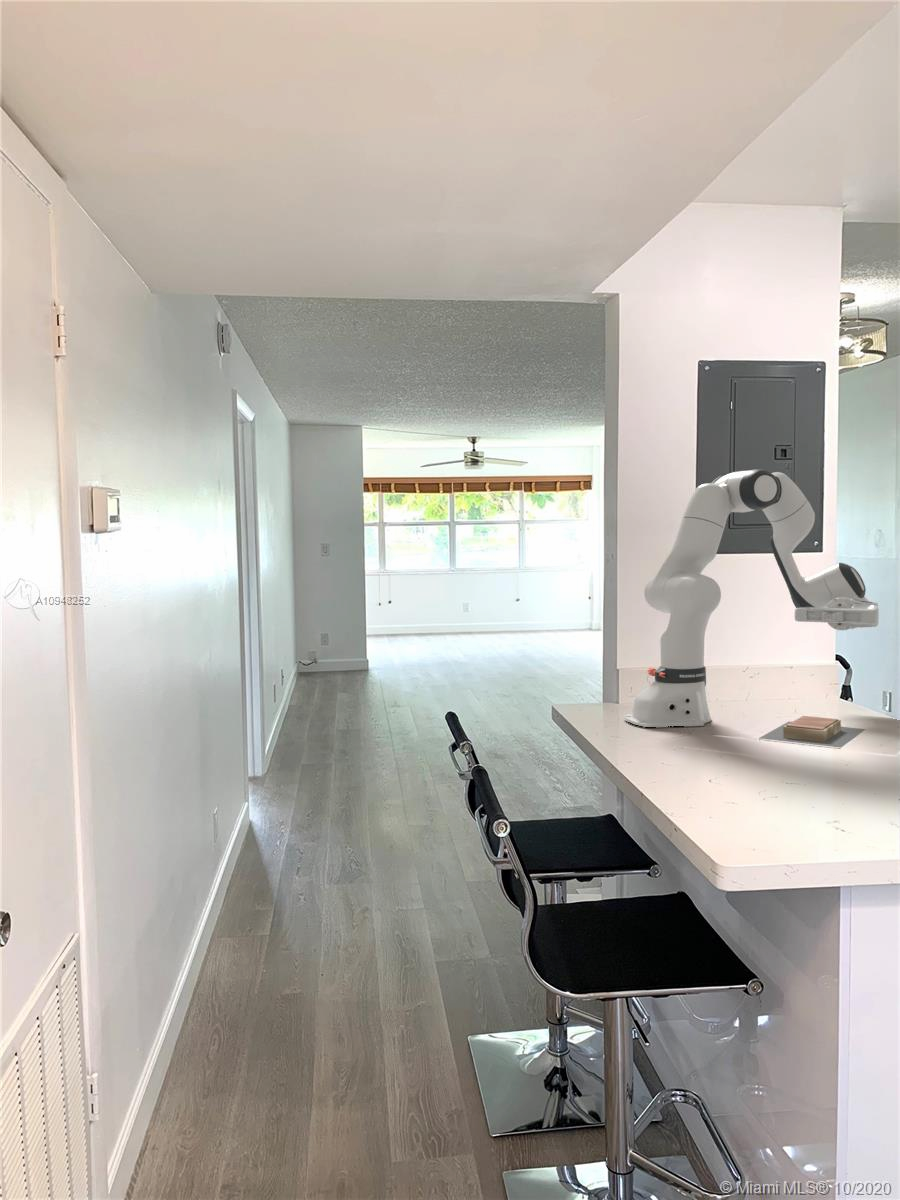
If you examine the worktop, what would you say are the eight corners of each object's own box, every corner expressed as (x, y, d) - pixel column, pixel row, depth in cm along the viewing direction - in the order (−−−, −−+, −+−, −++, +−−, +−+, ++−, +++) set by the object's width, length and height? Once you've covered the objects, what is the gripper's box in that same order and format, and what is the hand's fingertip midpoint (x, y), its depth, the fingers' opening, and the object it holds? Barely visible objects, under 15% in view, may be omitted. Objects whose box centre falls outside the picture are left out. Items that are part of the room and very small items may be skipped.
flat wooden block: (801, 715, 208) (783, 725, 197) (840, 718, 202) (823, 729, 191) (801, 726, 208) (783, 737, 197) (840, 730, 202) (824, 741, 191)
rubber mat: (788, 723, 214) (788, 721, 214) (865, 730, 203) (865, 729, 203) (758, 739, 197) (758, 738, 197) (840, 749, 186) (840, 747, 186)
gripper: (802, 601, 233) (786, 604, 222) (884, 602, 220) (870, 605, 209) (802, 623, 233) (786, 627, 222) (884, 626, 220) (870, 631, 209)
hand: (828, 617), depth 216 cm, fingers closed
